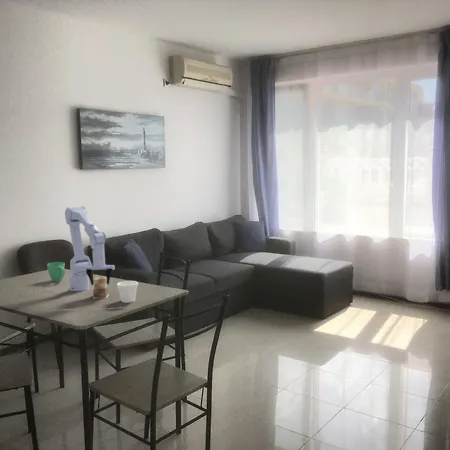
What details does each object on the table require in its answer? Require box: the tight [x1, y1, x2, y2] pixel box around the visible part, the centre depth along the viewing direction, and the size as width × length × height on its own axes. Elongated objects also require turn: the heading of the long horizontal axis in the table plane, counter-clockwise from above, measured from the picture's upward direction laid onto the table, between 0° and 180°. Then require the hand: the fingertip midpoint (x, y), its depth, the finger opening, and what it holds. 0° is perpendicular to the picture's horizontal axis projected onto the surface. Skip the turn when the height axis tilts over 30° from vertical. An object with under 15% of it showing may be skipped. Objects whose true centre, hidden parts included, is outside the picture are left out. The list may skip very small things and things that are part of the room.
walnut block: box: [92, 286, 109, 299], centre depth 254 cm, size 6×6×4 cm
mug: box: [46, 261, 66, 283], centre depth 291 cm, size 15×10×10 cm
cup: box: [116, 280, 139, 304], centre depth 244 cm, size 10×10×9 cm
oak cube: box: [93, 276, 108, 290], centre depth 254 cm, size 5×5×5 cm
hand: (100, 284), depth 253 cm, fingers open, 7 cm apart
